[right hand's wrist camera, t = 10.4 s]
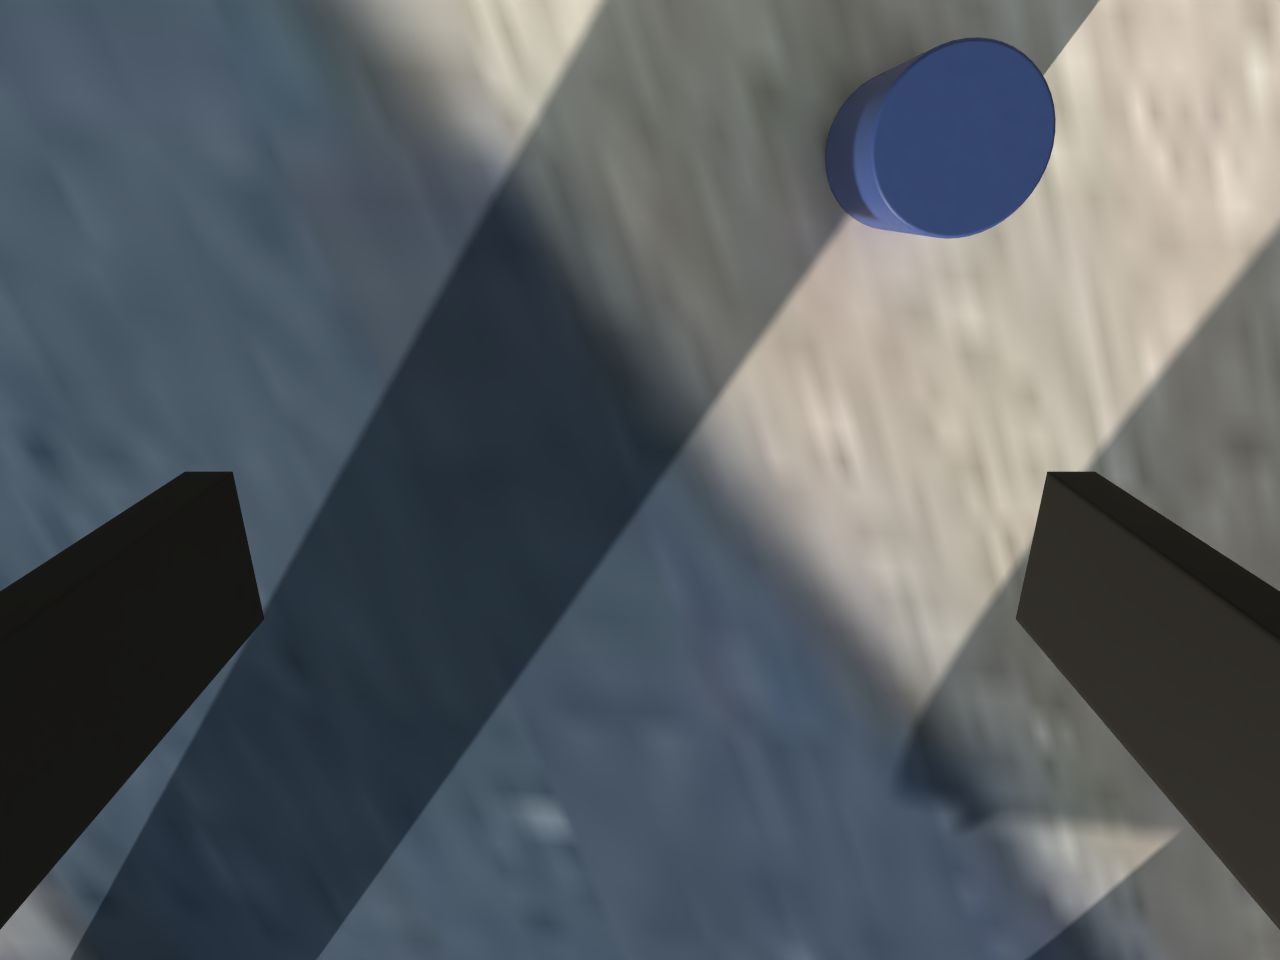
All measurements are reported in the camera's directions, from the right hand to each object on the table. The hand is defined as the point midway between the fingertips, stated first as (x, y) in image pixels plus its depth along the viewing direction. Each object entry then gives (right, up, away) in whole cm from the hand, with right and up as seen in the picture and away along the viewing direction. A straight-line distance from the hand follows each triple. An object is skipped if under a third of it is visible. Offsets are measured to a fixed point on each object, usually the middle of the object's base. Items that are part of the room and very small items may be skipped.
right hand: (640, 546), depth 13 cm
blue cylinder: (+7, +10, +8) cm, 15 cm away
